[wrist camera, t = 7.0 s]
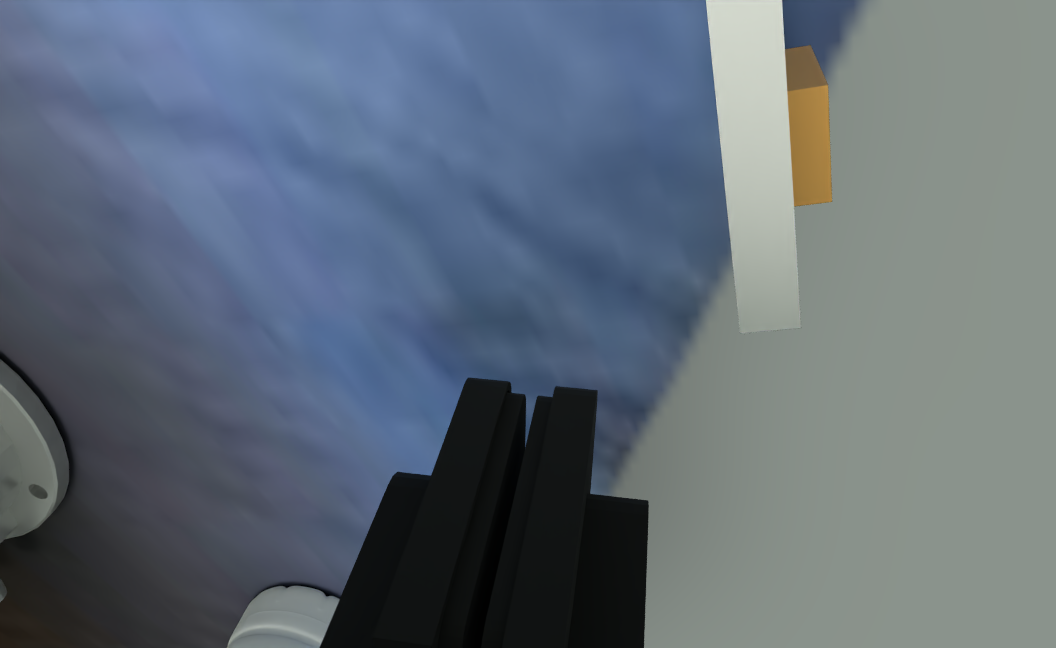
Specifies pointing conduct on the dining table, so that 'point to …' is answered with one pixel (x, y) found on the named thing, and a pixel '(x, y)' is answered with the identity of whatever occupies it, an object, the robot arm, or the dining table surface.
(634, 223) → the dining table surface
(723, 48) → the side door
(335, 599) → the water bottle
